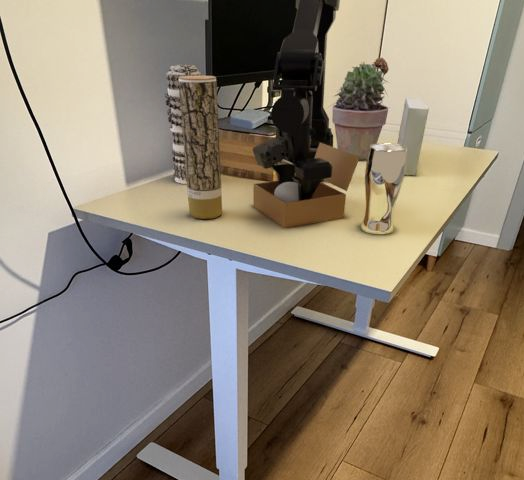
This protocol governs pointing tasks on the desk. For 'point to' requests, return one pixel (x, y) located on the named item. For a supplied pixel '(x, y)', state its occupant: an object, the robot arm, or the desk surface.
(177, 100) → the decorative candle
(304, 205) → the carton
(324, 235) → the desk surface
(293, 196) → the stress ball
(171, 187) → the desk surface
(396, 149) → the beer glass
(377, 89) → the potted plant
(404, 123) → the skincare box
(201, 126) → the paper tube
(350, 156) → the flap
